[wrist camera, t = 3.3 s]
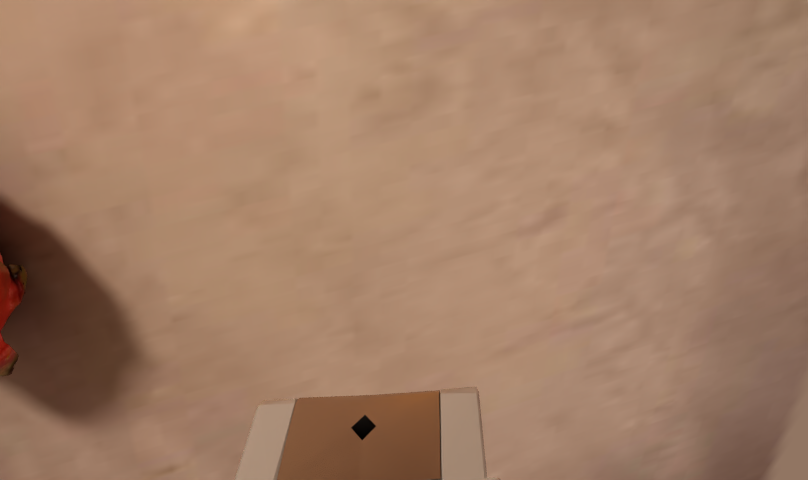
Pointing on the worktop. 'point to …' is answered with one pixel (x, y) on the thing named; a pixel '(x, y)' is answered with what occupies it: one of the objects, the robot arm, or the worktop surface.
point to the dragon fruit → (9, 308)
